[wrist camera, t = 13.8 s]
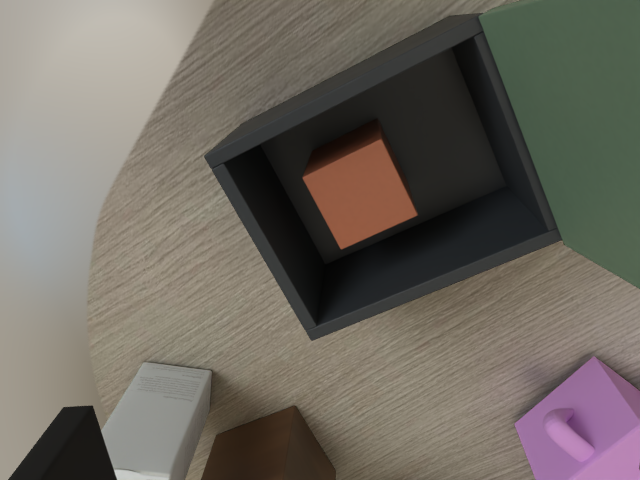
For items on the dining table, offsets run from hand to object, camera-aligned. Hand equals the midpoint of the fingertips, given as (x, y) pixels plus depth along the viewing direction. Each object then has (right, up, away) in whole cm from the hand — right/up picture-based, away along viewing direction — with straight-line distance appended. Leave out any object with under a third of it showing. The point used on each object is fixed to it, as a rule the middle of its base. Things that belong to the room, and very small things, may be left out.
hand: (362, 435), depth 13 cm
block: (+2, +10, +25) cm, 27 cm away
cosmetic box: (-13, -8, +34) cm, 37 cm away
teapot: (+22, -11, +32) cm, 41 cm away
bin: (+3, +11, +25) cm, 27 cm away
